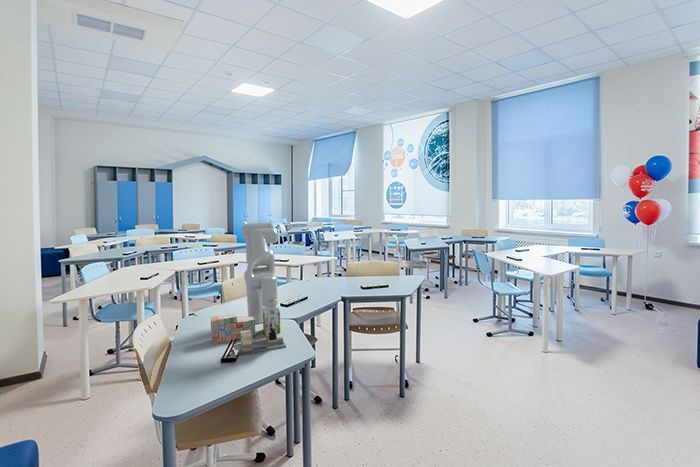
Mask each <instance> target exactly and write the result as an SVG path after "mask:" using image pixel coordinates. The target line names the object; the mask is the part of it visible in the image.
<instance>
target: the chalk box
mask: <svg viewBox="0 0 700 467" xmlns="http://www.w3.org/2000/svg"><path fill="white" fill-rule="evenodd" d="M277 316H278V325H276V327H277V334H281V311H280V307H277ZM265 323H266V322H265V312H264V309H263V322H262V327H263V328H262V334H263V335H266V334H265Z"/></svg>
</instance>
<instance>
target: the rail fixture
mask: <svg viewBox="0 0 700 467" xmlns="http://www.w3.org/2000/svg"><path fill="white" fill-rule="evenodd" d="M240 333H241V339H240V343H237V344H234V345H233V347H234V349H235V350H239V352H238V356H237V357H239V356H244V355H249V354H250V355H251V354H255V353H260V352H261V353H262V352H267V351H273V350H279V349H284V348H287V346H286V344H285V342H284V337H282V336H280V337H277V342H271V343H268V339H266V338H265V339H262V340H256V341H253V340H254V339H253V337H252V332H251V331H250V330H247V331H241V332H240Z"/></svg>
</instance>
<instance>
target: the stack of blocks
mask: <svg viewBox="0 0 700 467" xmlns="http://www.w3.org/2000/svg"><path fill="white" fill-rule="evenodd" d="M210 328H211V340H212V344H219V343H224V342H225V343H226V342H232V341H234V340H233V339H237V340H241V339H240V338H241V333H240V332H241V331H247V330H250V331H251V332H252V338H253V337H254V338H255V337H256V324H255V319H254V318H253V317H248V316H247V317H246V316H245V317H241V318H238V317H237V314H236V313H229V314H224V315H218V316H212V317H210ZM231 340H232V341H231Z"/></svg>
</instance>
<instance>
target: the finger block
mask: <svg viewBox="0 0 700 467" xmlns="http://www.w3.org/2000/svg"><path fill="white" fill-rule="evenodd" d="M270 326H272V324H271V325H270ZM271 328H272V327H271ZM275 330H276V340H269V332H270V331H269V326H268V325H267V324H266V323H265V334H264V335H265V340H266V339H268V343H271V342H277V338H278V333H277V327H276V324H275Z"/></svg>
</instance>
